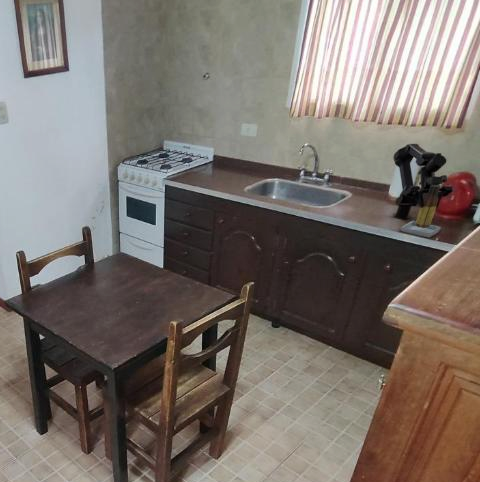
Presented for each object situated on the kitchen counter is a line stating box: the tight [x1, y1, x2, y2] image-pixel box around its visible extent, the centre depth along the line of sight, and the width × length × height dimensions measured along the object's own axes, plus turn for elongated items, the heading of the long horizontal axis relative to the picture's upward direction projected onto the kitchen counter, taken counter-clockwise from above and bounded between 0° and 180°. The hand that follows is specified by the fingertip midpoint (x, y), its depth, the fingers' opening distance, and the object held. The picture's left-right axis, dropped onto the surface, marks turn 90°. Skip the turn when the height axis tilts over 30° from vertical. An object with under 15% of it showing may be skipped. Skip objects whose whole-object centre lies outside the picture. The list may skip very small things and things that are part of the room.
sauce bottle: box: [415, 184, 442, 228], centre depth 226 cm, size 6×6×20 cm
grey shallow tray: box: [400, 220, 442, 239], centre depth 233 cm, size 12×13×2 cm
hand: (429, 207), depth 226 cm, fingers closed on sauce bottle, 6 cm apart
